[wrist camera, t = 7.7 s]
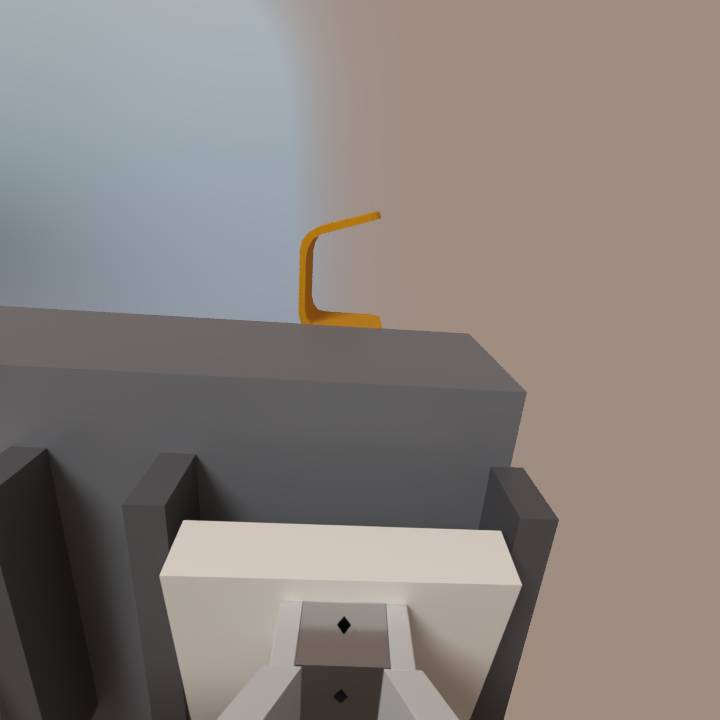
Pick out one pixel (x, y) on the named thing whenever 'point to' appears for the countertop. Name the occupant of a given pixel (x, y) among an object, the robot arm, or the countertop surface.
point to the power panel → (226, 479)
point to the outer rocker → (333, 597)
